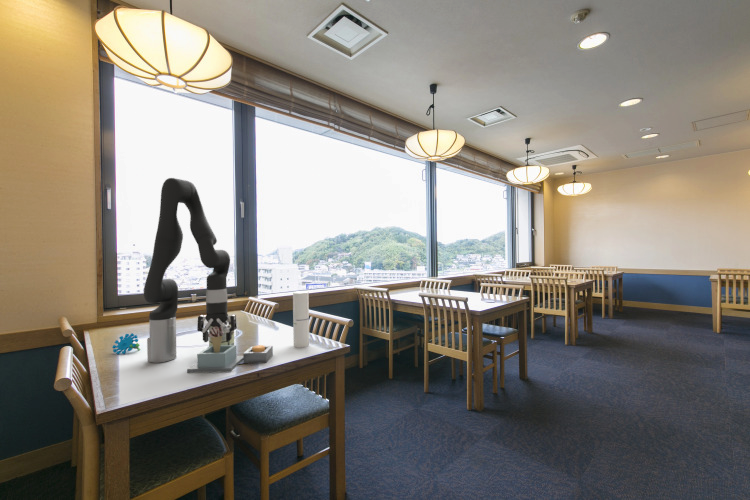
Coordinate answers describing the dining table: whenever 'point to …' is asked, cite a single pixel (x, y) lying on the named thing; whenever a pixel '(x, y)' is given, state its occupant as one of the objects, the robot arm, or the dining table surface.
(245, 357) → the button housing
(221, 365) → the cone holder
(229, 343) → the coffee can
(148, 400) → the dining table surface
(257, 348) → the button
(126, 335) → the blue knobby piece
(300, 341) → the cylindrical container
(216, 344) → the ice cream cone
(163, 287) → the robot arm
